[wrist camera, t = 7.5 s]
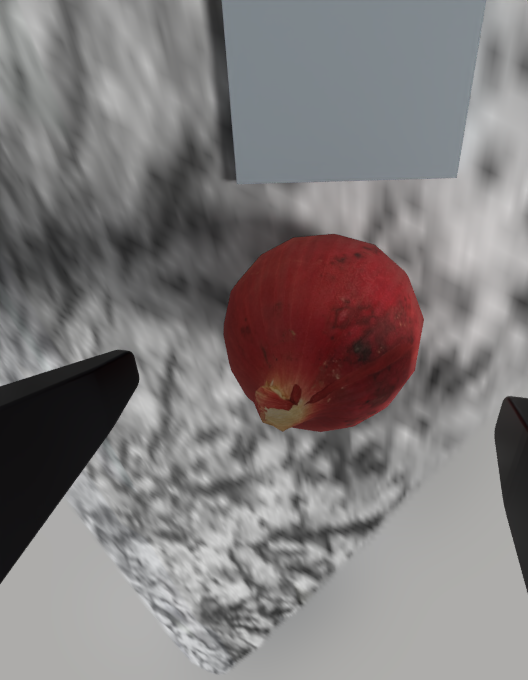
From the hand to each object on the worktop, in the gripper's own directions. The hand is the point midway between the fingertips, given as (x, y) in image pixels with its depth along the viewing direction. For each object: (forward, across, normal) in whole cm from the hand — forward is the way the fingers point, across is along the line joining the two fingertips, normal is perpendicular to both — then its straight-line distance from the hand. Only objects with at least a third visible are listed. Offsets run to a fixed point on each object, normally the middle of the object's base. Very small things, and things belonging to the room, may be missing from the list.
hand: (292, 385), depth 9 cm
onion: (+7, 0, 0) cm, 7 cm away
